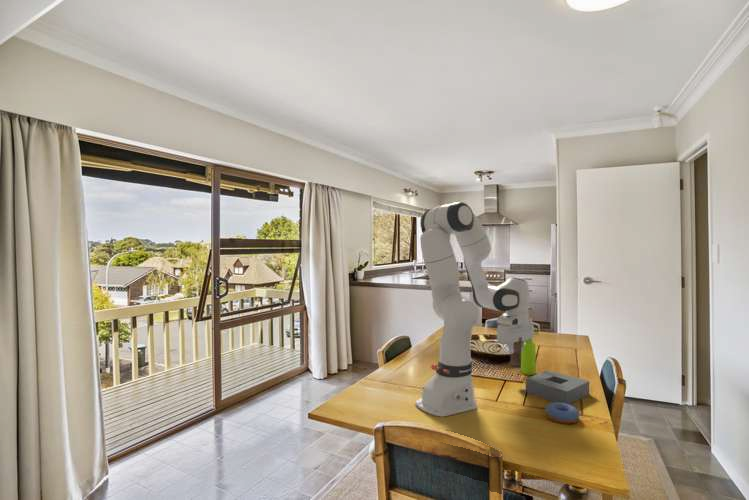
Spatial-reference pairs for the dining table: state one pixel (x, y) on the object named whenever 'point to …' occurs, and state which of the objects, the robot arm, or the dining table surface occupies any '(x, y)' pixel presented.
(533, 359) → the soap dispenser
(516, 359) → the peg
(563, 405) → the doughnut
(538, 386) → the socket block
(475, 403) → the robot arm
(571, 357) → the dining table surface
